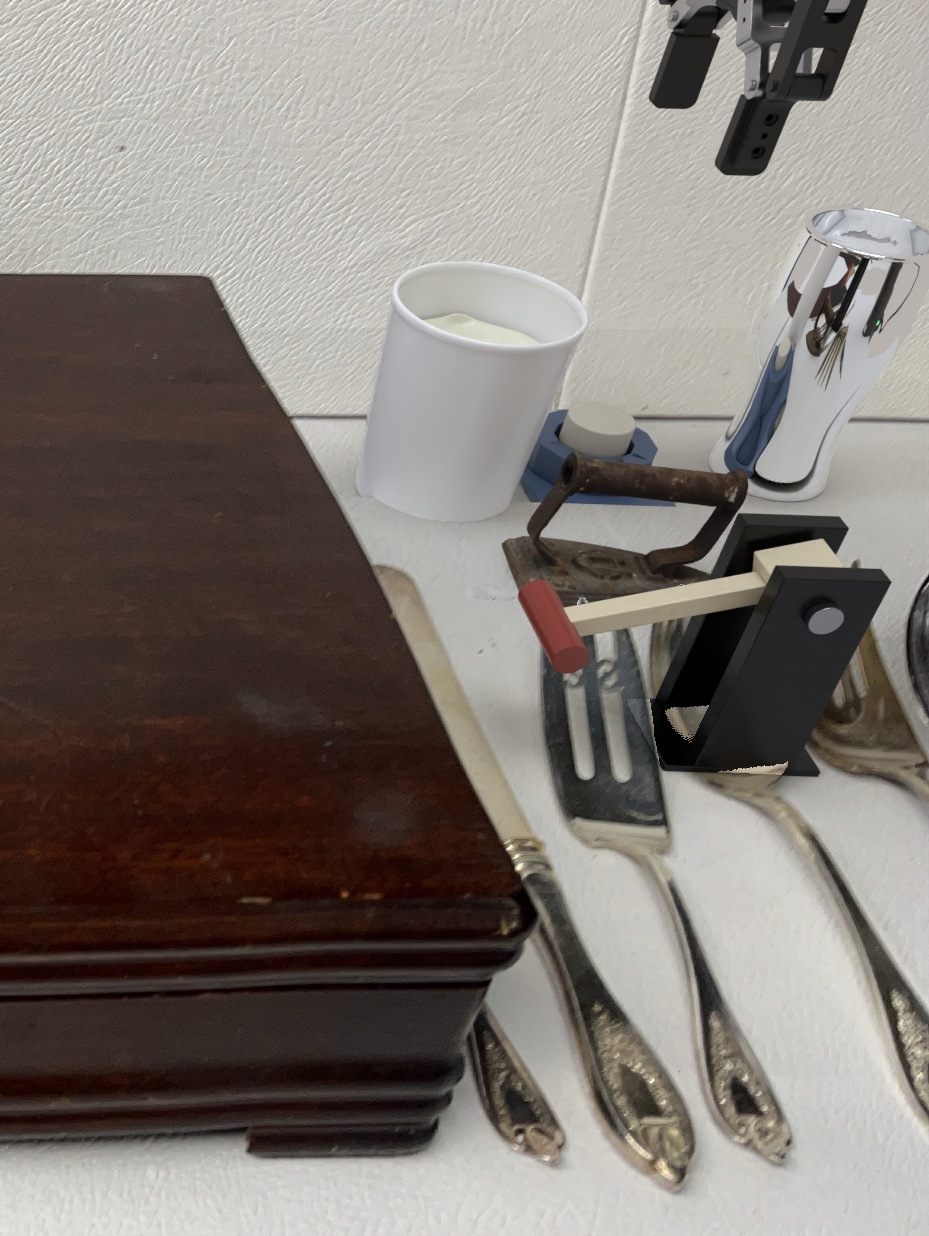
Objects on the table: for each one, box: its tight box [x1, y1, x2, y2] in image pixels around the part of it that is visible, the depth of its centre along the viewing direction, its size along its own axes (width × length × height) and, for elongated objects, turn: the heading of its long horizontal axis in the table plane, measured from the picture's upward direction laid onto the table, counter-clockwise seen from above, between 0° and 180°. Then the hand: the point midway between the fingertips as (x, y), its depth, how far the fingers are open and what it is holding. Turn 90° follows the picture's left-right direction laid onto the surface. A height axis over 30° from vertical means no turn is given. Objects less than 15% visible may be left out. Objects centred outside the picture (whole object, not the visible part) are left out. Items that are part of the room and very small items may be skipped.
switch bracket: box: [649, 512, 893, 778], centre depth 80 cm, size 7×6×12 cm
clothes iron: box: [501, 452, 748, 608], centre depth 91 cm, size 7×11×10 cm, turn 84°
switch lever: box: [517, 539, 846, 675], centre depth 78 cm, size 12×5×2 cm, turn 87°
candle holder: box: [354, 260, 590, 524], centre depth 97 cm, size 10×10×12 cm
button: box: [559, 401, 637, 458], centre depth 101 cm, size 4×4×2 cm
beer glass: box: [708, 204, 929, 503], centre depth 98 cm, size 7×7×15 cm
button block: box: [519, 408, 677, 508], centre depth 102 cm, size 10×8×2 cm
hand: (702, 138), depth 89 cm, fingers open, 8 cm apart
